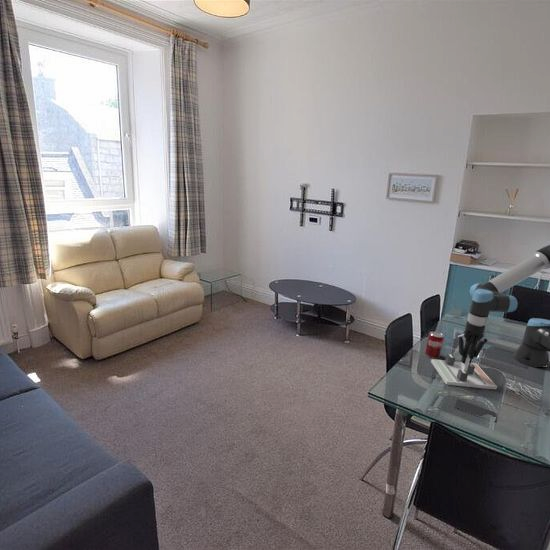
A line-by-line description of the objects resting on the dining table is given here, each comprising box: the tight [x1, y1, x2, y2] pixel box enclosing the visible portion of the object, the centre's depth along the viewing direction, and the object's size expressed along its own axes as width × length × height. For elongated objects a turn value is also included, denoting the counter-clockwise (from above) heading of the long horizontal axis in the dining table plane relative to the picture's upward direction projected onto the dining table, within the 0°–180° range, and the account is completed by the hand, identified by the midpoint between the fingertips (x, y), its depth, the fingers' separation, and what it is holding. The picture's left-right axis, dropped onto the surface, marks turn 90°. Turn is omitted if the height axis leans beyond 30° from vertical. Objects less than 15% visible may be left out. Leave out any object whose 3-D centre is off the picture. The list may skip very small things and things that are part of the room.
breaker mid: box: [466, 364, 475, 374], centre depth 173 cm, size 3×3×4 cm
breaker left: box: [445, 353, 456, 365], centre depth 180 cm, size 3×3×4 cm
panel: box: [430, 358, 498, 390], centre depth 174 cm, size 22×20×2 cm
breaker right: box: [457, 369, 468, 381], centre depth 167 cm, size 3×3×4 cm
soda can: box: [424, 331, 445, 360], centre depth 189 cm, size 7×7×12 cm
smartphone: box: [453, 398, 497, 418], centre depth 148 cm, size 7×1×15 cm
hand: (464, 369), depth 174 cm, fingers closed
